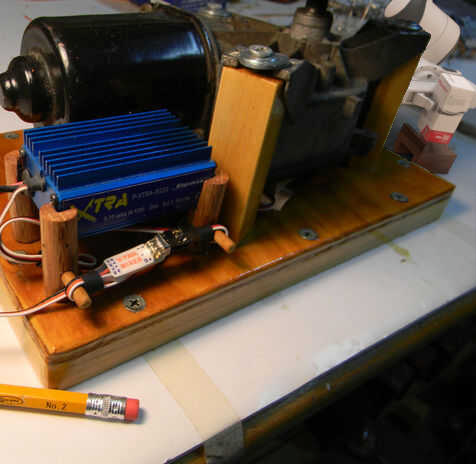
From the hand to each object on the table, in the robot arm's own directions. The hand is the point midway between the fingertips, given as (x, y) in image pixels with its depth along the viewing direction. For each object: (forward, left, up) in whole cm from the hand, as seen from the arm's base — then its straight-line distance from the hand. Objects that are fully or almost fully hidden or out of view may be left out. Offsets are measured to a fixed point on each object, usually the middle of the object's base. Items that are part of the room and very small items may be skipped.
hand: (449, 108), depth 96 cm
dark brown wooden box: (0, -1, -13) cm, 13 cm away
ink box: (0, -1, -7) cm, 7 cm away
